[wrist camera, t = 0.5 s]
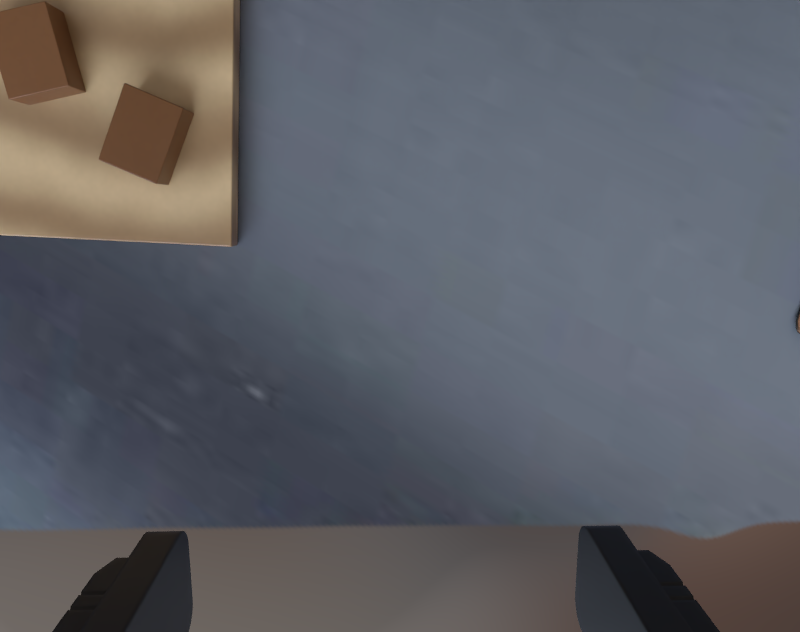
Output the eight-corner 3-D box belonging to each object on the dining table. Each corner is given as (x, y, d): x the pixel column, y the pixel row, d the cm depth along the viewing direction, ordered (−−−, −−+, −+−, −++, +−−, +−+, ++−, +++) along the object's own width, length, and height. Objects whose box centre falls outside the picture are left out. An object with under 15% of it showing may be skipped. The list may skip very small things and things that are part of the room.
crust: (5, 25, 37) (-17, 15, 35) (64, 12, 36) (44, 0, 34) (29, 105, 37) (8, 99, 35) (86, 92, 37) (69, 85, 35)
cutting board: (-31, -206, 36) (-49, -224, 35) (242, -191, 36) (235, -208, 35) (-9, 233, 40) (-25, 234, 38) (237, 245, 40) (231, 246, 38)
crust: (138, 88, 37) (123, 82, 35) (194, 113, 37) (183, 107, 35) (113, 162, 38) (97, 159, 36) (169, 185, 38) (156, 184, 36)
